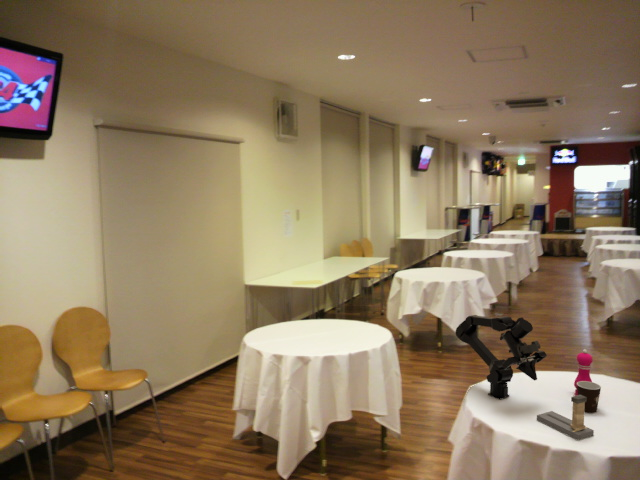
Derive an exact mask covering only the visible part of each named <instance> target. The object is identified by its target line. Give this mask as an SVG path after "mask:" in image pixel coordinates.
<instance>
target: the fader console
mask: <svg viewBox="0 0 640 480" xmlns="http://www.w3.org/2000/svg"><path fill="white" fill-rule="evenodd" d="M536 421H538V422H539V423H542V424H544V425H546V426H547V427H550V428H552V429H554V430H556V431H558V432H560V433H562V434H564V435H566V436H568V437H570V438H572V439H574V440H576V441H580V440H584V439H587V438H590V437H594V435H595V434H594V433H595V432H594V431H595V430H594V429H592V428H590V427H588V426H585V429H582V430H579V431H577V430H575V429H573V428H571V427H570V425H571V424H572V419H570V418H568V417H566V416H563V415H561V413H560V414H559V413H558V412H555V411H553V410H550V411H547V412H543V413H540V414H539V413H538V414H537V415H536Z"/></svg>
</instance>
